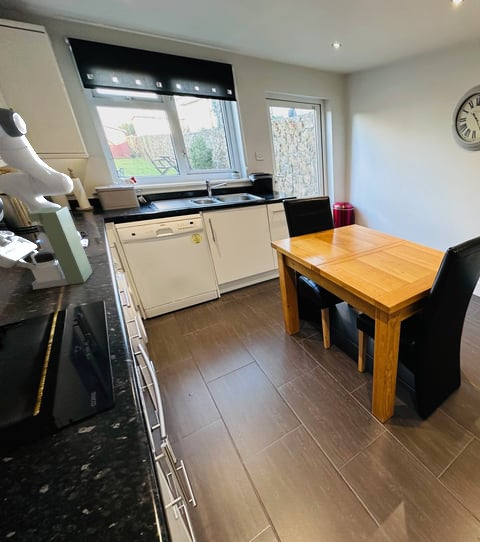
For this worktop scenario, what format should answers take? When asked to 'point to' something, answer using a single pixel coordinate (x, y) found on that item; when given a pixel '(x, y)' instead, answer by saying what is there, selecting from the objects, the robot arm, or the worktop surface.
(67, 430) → the worktop surface
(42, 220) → the sage green upright pillar
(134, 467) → the worktop surface
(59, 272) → the medicine bottle
